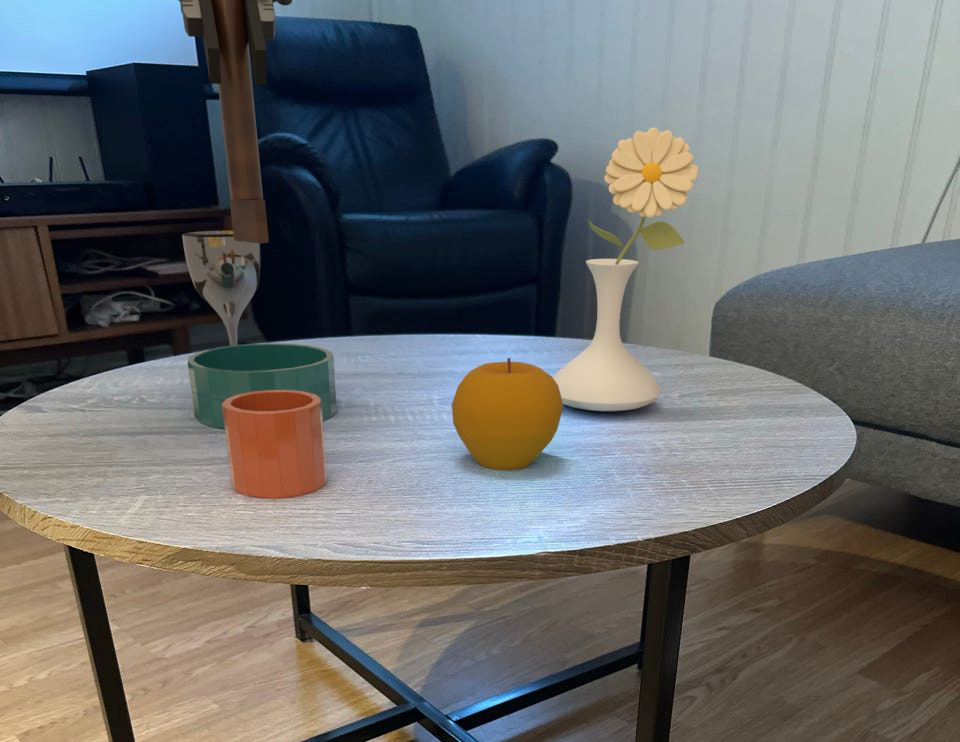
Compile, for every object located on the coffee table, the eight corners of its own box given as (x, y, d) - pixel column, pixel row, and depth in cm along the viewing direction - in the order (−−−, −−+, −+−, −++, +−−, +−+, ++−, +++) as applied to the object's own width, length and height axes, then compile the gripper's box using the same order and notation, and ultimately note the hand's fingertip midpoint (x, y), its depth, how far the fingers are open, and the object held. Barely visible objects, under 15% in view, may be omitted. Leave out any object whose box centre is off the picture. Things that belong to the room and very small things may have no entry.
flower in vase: (529, 412, 93) (538, 126, 81) (569, 388, 102) (582, 128, 90) (657, 428, 88) (687, 126, 76) (687, 401, 97) (717, 128, 86)
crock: (215, 493, 71) (203, 401, 68) (289, 472, 76) (281, 385, 73) (271, 515, 67) (261, 418, 64) (346, 492, 72) (340, 400, 68)
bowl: (169, 421, 90) (159, 356, 87) (281, 397, 98) (276, 338, 95) (251, 448, 82) (243, 378, 79) (365, 419, 90) (361, 356, 88)
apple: (577, 483, 74) (584, 367, 70) (467, 492, 72) (467, 373, 68) (541, 451, 82) (545, 345, 77) (441, 458, 79) (439, 350, 75)
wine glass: (252, 366, 112) (237, 229, 104) (285, 378, 106) (272, 234, 99) (189, 375, 107) (169, 233, 100) (220, 388, 102) (201, 238, 95)
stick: (226, 241, 72) (187, -100, 62) (252, 239, 74) (218, -94, 64) (250, 244, 70) (214, -107, 61) (276, 242, 72) (245, -101, 62)
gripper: (297, -118, 75) (346, 114, 69) (93, -134, 71) (126, 111, 65) (300, -227, 68) (355, 20, 62) (74, -251, 64) (109, 11, 58)
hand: (238, 66), depth 64 cm, fingers closed on stick, 2 cm apart
